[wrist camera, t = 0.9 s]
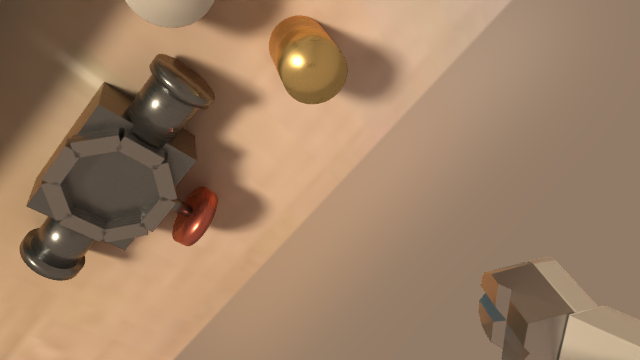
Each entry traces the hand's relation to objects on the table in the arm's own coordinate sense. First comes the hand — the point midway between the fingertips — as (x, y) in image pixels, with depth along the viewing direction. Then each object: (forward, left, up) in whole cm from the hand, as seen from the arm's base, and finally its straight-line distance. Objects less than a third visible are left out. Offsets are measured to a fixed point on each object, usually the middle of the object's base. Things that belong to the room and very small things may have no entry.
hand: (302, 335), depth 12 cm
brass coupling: (0, +8, -34) cm, 35 cm away
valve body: (+16, +4, -33) cm, 37 cm away
